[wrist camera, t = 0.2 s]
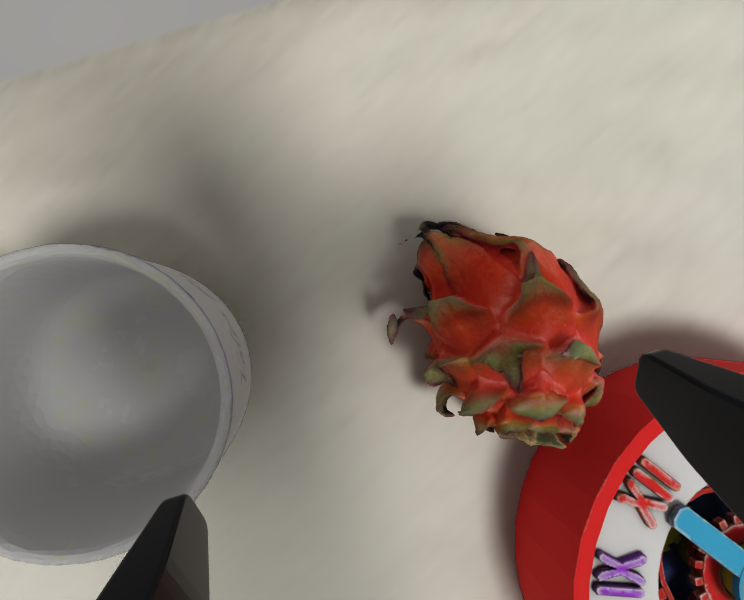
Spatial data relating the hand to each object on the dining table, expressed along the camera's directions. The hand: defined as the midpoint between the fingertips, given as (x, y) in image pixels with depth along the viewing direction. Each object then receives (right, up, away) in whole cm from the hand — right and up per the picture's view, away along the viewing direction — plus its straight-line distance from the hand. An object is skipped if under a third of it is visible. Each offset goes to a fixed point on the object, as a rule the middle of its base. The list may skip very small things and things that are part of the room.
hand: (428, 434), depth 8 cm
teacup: (-13, 0, +14) cm, 19 cm away
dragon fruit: (+4, +1, +16) cm, 16 cm away
